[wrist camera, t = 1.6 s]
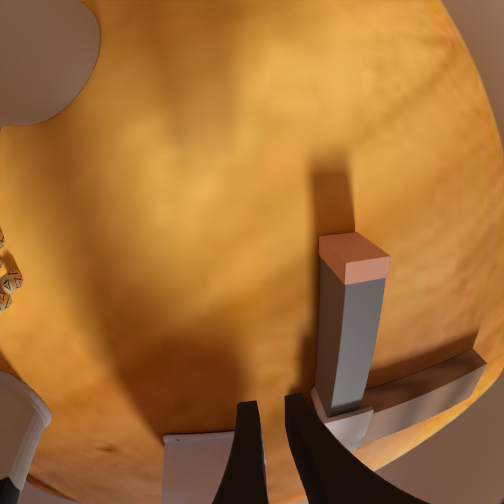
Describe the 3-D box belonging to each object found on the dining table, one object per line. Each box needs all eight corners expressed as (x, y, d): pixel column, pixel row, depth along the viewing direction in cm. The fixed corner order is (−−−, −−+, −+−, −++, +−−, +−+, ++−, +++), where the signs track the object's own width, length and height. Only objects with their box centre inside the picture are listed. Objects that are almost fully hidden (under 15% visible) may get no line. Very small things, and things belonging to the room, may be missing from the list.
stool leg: (341, 396, 23) (356, 429, 20) (309, 403, 23) (322, 439, 19) (360, 231, 18) (393, 255, 14) (315, 236, 17) (342, 263, 14)
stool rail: (291, 438, 25) (302, 477, 21) (293, 379, 22) (308, 427, 17) (457, 382, 27) (477, 407, 22) (482, 321, 24) (510, 346, 19)
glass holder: (44, 389, 20) (-5, 514, 6) (65, 453, 24) (43, 544, 11) (-20, 358, 18) (-79, 457, 4) (11, 429, 23) (-20, 510, 9)
